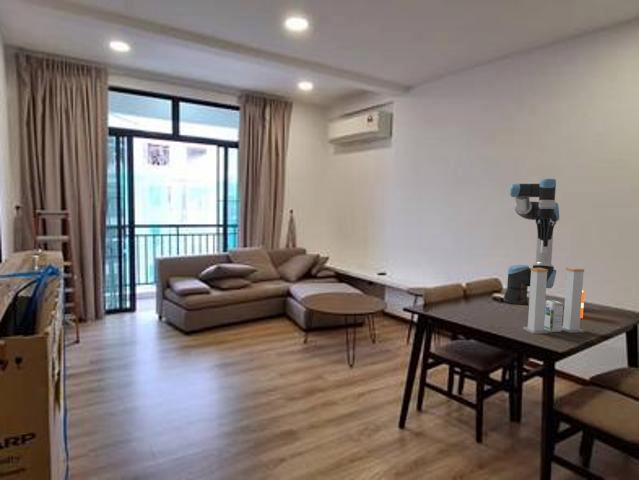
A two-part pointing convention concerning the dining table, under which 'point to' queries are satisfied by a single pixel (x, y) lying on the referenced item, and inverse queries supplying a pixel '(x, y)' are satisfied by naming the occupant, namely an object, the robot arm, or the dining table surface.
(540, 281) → the post
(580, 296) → the post
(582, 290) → the orange juice
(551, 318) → the syrup box
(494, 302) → the dining table surface
